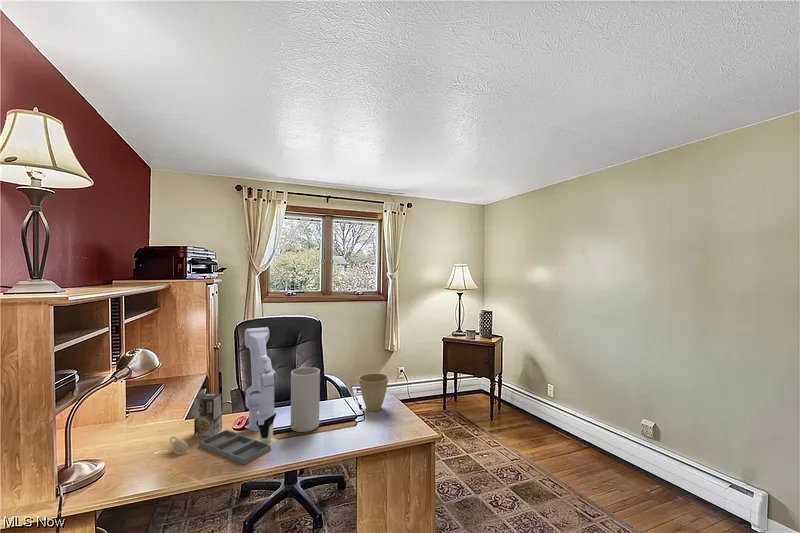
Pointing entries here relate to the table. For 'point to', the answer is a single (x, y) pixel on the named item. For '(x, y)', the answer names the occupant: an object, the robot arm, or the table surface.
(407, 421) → the table surface
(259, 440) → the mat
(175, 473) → the pencil
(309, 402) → the cylinder vase
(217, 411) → the coffee box
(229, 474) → the table surface
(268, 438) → the letter block
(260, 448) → the tray
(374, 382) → the plant pot
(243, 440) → the tray
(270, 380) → the robot arm
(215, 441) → the tray
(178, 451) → the decorative ornament
